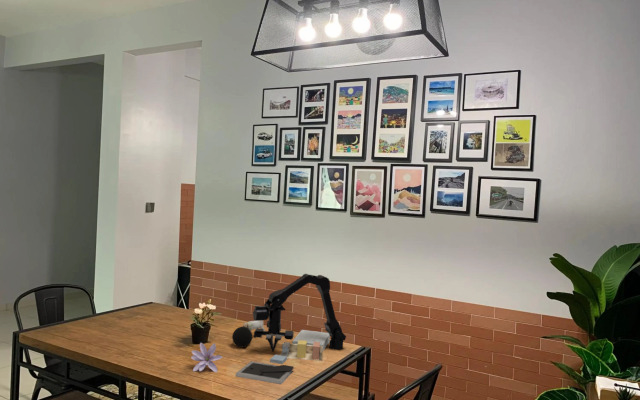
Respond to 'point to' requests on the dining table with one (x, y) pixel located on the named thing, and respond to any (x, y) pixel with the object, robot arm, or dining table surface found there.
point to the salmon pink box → (316, 350)
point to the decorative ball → (242, 336)
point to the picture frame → (265, 372)
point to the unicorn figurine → (254, 325)
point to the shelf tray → (308, 352)
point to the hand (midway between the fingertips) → (273, 351)
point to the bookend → (286, 349)
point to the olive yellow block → (301, 349)
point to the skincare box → (313, 338)
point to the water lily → (205, 358)
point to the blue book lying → (278, 359)
